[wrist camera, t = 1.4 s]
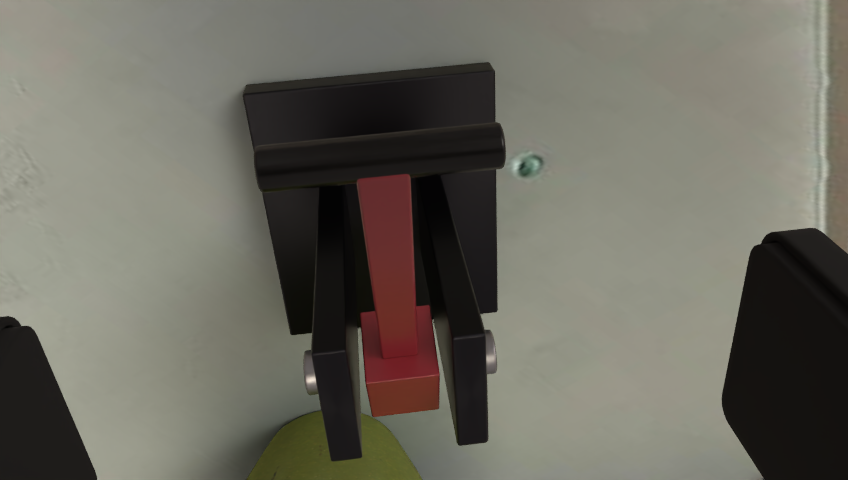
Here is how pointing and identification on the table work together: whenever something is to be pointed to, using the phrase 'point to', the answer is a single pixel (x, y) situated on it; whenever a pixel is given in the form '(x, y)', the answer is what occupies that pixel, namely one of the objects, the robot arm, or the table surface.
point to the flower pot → (310, 460)
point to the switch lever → (388, 237)
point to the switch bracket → (345, 243)
